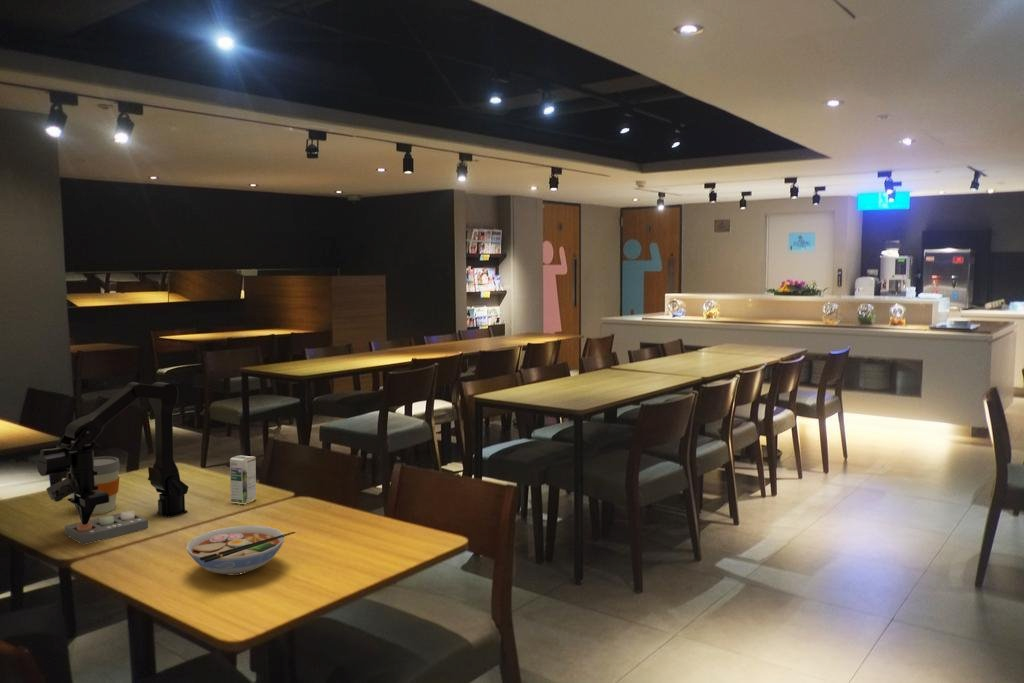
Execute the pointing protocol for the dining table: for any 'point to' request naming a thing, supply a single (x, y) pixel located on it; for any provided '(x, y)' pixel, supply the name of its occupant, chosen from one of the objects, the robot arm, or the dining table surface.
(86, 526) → the button terracotta
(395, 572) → the dining table surface
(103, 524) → the button sage
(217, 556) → the ramen bowl
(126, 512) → the button cream
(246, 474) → the syrup box
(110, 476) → the reusable coffee cup
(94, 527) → the button panel
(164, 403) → the robot arm
